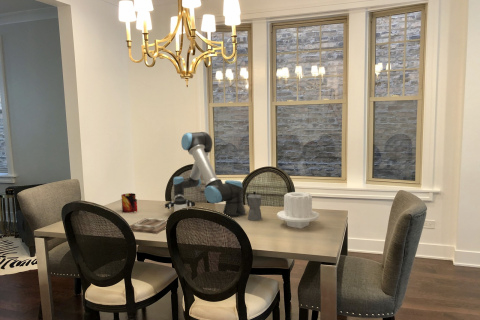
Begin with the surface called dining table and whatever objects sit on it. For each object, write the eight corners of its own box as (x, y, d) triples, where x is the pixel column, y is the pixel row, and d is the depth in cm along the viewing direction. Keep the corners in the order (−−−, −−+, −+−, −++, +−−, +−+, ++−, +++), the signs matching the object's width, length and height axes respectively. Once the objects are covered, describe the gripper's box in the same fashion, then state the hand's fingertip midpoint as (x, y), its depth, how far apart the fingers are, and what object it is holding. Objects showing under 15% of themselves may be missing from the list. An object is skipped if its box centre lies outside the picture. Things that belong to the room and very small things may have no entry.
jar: (171, 217, 252) (171, 200, 251) (180, 215, 259) (179, 197, 258) (182, 219, 247) (181, 201, 246) (190, 216, 254) (189, 199, 253)
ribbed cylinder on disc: (305, 234, 212) (305, 201, 210) (268, 226, 228) (268, 195, 226) (326, 223, 231) (326, 193, 228) (291, 217, 247) (291, 188, 245)
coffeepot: (266, 220, 242) (266, 192, 240) (254, 222, 237) (254, 194, 235) (252, 215, 255) (252, 188, 253) (241, 217, 250) (240, 190, 248)
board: (175, 222, 240) (175, 218, 240) (157, 233, 220) (156, 228, 219) (145, 220, 247) (145, 216, 247) (124, 230, 227) (124, 226, 227)
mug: (136, 213, 266) (136, 196, 265) (119, 212, 270) (118, 195, 269) (144, 209, 276) (143, 193, 274) (127, 209, 279) (126, 193, 278)
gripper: (197, 204, 276) (199, 211, 256) (162, 206, 272) (161, 214, 251) (196, 194, 275) (199, 200, 255) (161, 196, 271) (161, 203, 250)
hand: (180, 207), depth 253 cm, fingers open, 13 cm apart
